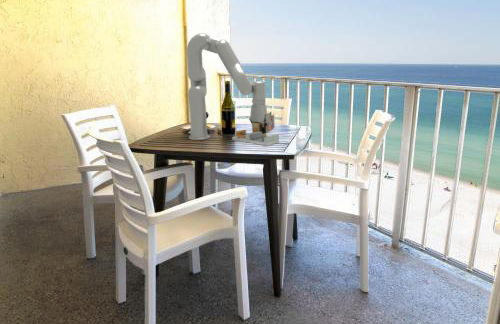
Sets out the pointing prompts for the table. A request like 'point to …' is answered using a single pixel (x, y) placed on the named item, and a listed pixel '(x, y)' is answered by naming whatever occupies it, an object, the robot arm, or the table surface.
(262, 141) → the vise
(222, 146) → the table surface
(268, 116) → the stack of blocks
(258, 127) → the brass block
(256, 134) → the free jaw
